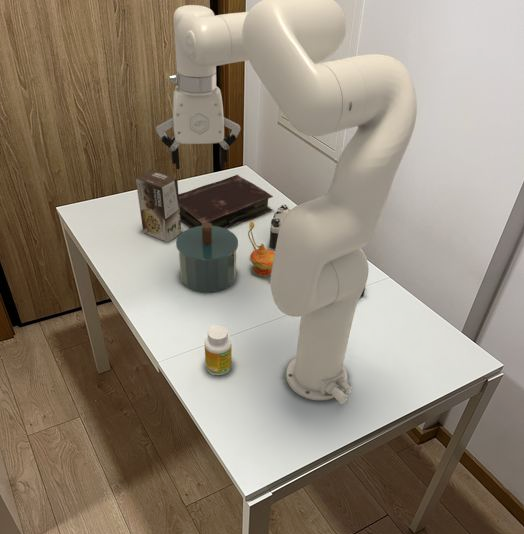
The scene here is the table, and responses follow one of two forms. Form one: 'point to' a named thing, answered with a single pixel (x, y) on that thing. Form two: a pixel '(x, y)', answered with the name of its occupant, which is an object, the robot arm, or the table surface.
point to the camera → (277, 225)
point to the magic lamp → (261, 257)
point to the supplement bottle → (218, 351)
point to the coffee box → (159, 205)
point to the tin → (208, 273)
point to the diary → (223, 203)
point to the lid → (207, 243)
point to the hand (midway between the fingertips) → (200, 165)
